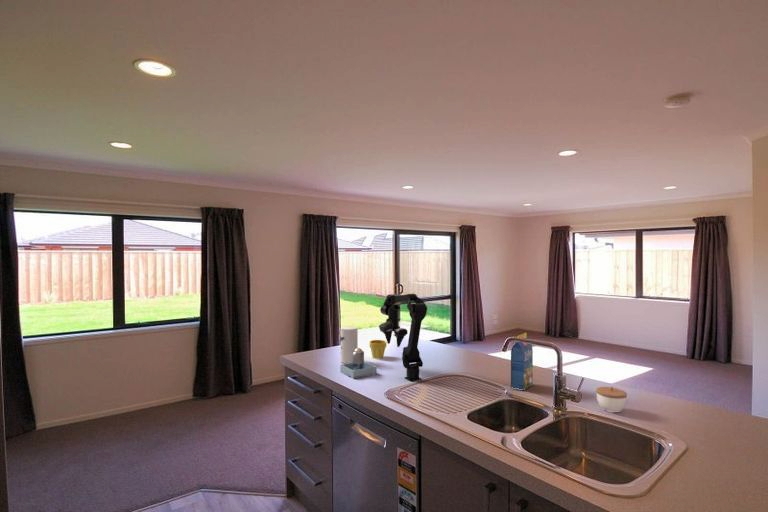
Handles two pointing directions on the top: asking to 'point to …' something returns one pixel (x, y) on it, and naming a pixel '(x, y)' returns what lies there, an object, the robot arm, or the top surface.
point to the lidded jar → (611, 398)
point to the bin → (367, 370)
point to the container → (348, 343)
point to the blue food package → (521, 364)
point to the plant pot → (377, 348)
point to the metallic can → (358, 359)
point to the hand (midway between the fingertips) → (393, 345)
